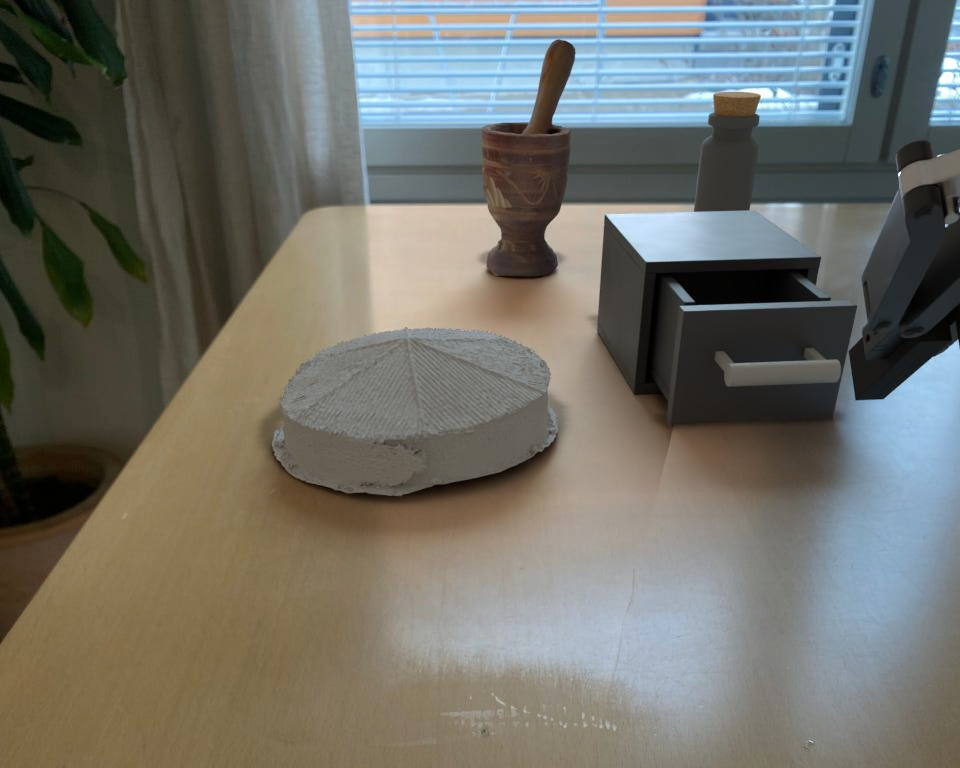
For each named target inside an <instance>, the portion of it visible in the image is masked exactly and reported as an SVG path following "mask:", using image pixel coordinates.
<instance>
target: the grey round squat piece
mask: <svg viewBox="0 0 960 768" xmlns="http://www.w3.org/2000/svg"><path fill="white" fill-rule="evenodd" d="M455 328H456V327H455ZM455 328H452V327H451V328H446V327H442V328H439V327H438V328H437V327H435V328H433V327H425V328H409V327H407V326H405V327H403V328H401V329H395V330H386V331H380V332H374V333H370V334H368V335H366V334H365V335H363V336H360V337H354V338H351V339H349V340H344V341H341V342H337V343H336V344H334V345H332V346H330V345H329V347H327V348H323V349H321V350H318V351H316V352H315V355H313V356H311V357H310V358H306V360H305V361H304V362H301V363H299V365H298V368H296V369H295V371H294V372H293V374H292V375H293V376H292V375H291V377H290V378H288V379H287V380H285V382H286V381H287V384H286V386H285V387H282V388H283V389H282V391H283V392H282V396H280V397H279V400H278V407H279V411H280V412H281V413H282V417H283V423H282V426H281V427H280V428H279V429H278V430H277V429H275V431H274V432H273V437H272V440H271V448H272V452H274V457H275V458H276V460H277V461H279V462H280V464H281V466H282V468H284V469H285V471H286V472H287V473H288V474H289V475H291V476H292V477H294V478H295V479H298V480H301V481H303V482H306V483H307V484H311V485H318V486H323V487H327V488H328V489H329V488H330V489H332V490H334V491H340V492H343V493H345V494H355V493H360V494H361V493H362V494H364V493H367V494H370V495H378V496H380V495H381V496H389V497H391V496H395V497H402V496H403V495H407V494H411V493H414V492H417V491H421V490H423V489H428V488H432V487H433V486H435V485H440V486H442V485H447V484H450V483H455V482H456V483H457V482H461V481H466V480H468V481H469V480H472V479H477V478H481V477H485V476H486V477H487V476H489V475H495V474H497V473H501V472H504V471H505V470H508V469H510V468H512V467H516V466H518V465H519V464H521V463H524V462H526V461H527V460H529V459H531V458H533V457H534V456H535V455H536V454H537V453H539V452H541V453H542V452H543V451H544V450H545V448H547V447H550V445H551V443H553V442H554V440H555V438H556V437H557V434H558V431H559V430H558V429H559V426H558V423H559V420H558V416H557V414H556V413H555V412H554V410H553V409H552V408H551V407H550V406H548V401H549V398H548V397H549V396H548V393H549V392H548V388H549V386H550V385H549V384H550V381H551V376H552V373H551V371H550V370H551V369H550V367H549V365H548V364H547V363H548V362H547V361H546V360H545V359H543V358H542V357H541V356H540V355H538V352H536V350H534V349H532V348H531V347H529V346H525V345H523V344H524V343H523V342H516V341H517V340H515V339H511V338H509V337H506V336H503V335H502V334H500V333H498V334H497V333H493V332H489V331H488V330H487V331H485V330H481V331H480V330H476V329H473V330H472V329H471V330H469V329H464V328H462V329H459V328H458V329H457V328H456V329H455Z"/></svg>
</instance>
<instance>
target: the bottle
mask: <svg viewBox="0 0 960 768" xmlns="http://www.w3.org/2000/svg"><path fill="white" fill-rule="evenodd" d="M712 97H713V98H712V99H713V112H711V113H709V115H708V118H707V125H708V126H711V127H712V130H711V131H712V132H711V135H709V136H708V137H707V138H705V139H704V140H703V141H702V143H701V147H700V156H699V162H698V172H697V179H696V187H695V188H696V189H695V196H694V205H693V212H709V211H748V210H751V204H752V197H753V190H754V184H755V177H756V170H757V162H758V157H759V156H758V155H759V148H760V147H759V146H760V144H759V142H758V141H757V140H756V139H755V138H754V137H753V136H752V132H753V128H756V127H758V126H759V125H760V120H761V119H760V117H761V116H760V114H758V113H757V109H758V107H759V103H760V100H761V98H762V95H761V94H759V93H757V92H756V93H755V92H748V91H718V92H714V93H713V95H712Z"/></svg>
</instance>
